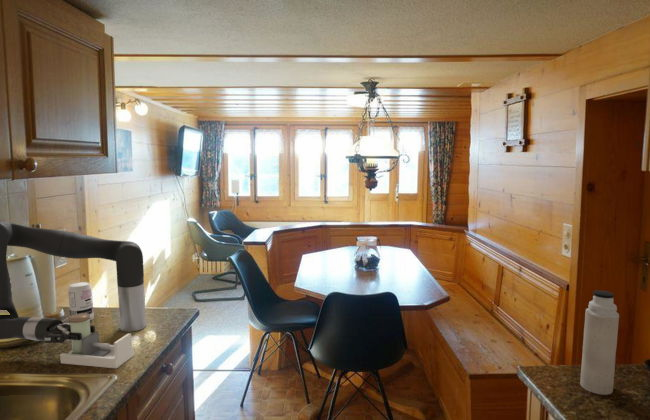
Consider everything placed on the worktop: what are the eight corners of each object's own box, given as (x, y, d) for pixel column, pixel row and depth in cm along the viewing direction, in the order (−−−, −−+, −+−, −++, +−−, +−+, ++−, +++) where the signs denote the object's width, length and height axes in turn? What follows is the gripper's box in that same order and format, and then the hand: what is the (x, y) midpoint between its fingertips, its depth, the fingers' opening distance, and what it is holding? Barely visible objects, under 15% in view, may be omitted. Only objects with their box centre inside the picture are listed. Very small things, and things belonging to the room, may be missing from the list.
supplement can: (76, 317, 183) (73, 281, 181) (97, 316, 184) (94, 281, 182) (66, 324, 175) (63, 287, 173) (89, 323, 176) (86, 287, 174)
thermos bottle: (599, 379, 131) (607, 287, 127) (619, 394, 123) (628, 296, 119) (574, 380, 130) (580, 288, 127) (592, 395, 122) (600, 297, 119)
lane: (60, 363, 143) (58, 339, 142) (81, 350, 152) (79, 328, 151) (116, 368, 139) (114, 344, 138) (134, 355, 148) (132, 332, 147)
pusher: (83, 359, 142) (81, 339, 142) (97, 350, 149) (95, 331, 148) (102, 361, 141) (101, 341, 140) (115, 351, 148) (114, 332, 147)
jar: (74, 351, 148) (71, 314, 146) (93, 349, 150) (91, 312, 148) (70, 359, 142) (67, 320, 141) (90, 356, 144) (88, 318, 143)
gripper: (23, 326, 140) (70, 330, 137) (58, 310, 154) (102, 314, 151) (25, 349, 141) (72, 353, 138) (60, 331, 155) (103, 335, 152)
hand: (87, 332), depth 145 cm, fingers closed on jar, 5 cm apart
